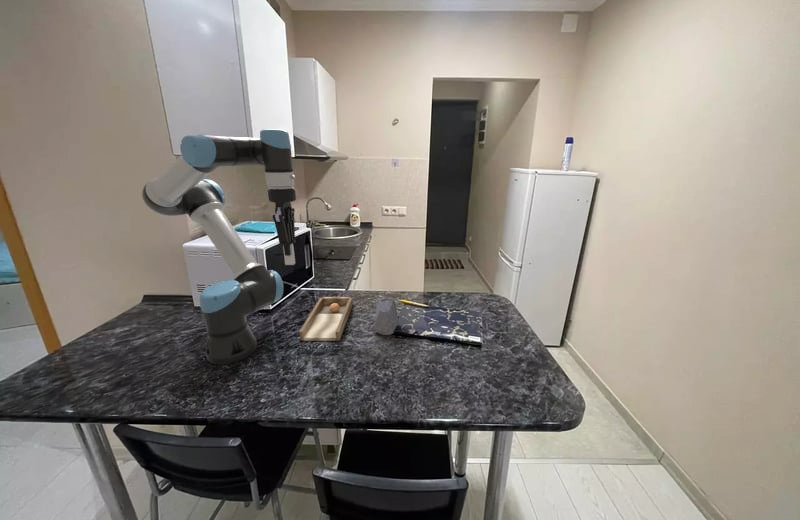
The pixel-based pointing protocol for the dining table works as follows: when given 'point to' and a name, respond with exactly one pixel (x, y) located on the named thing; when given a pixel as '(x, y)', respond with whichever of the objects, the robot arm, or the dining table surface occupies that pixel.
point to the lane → (326, 320)
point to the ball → (334, 307)
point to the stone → (386, 317)
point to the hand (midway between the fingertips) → (290, 263)
